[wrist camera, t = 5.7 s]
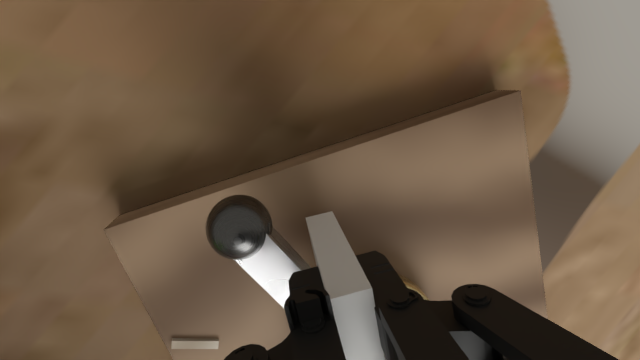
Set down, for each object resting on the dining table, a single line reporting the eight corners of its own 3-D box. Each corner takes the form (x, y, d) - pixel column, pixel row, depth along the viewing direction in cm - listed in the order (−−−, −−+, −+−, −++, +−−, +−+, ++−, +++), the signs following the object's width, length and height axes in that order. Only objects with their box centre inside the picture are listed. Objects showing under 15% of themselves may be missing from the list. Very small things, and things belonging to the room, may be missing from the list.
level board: (538, 394, 27) (561, 420, 25) (264, 506, 25) (264, 544, 23) (495, 90, 20) (523, 90, 18) (112, 217, 18) (93, 234, 16)
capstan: (455, 332, 21) (522, 415, 16) (353, 412, 21) (383, 520, 16) (289, 129, 16) (304, 149, 11) (160, 235, 17) (112, 306, 11)
